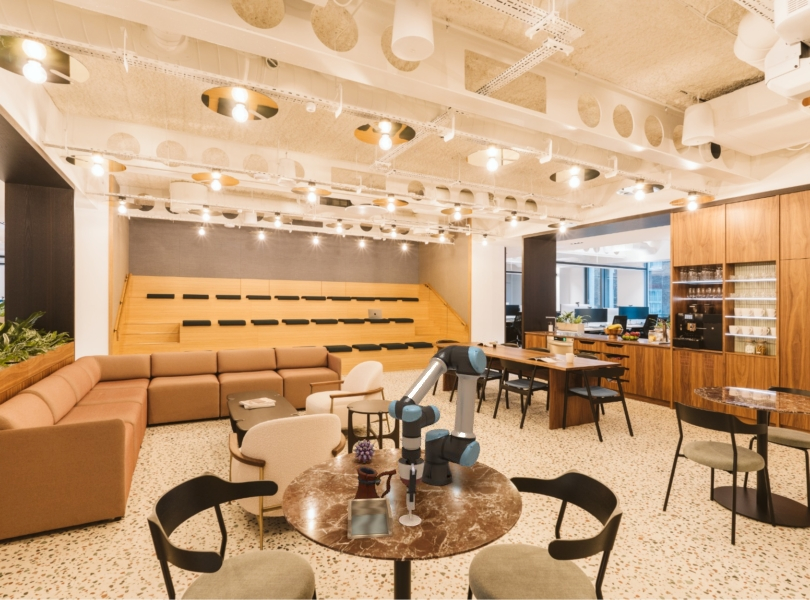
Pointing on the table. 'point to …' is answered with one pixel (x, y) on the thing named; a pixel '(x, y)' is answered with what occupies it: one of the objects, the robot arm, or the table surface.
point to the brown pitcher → (371, 482)
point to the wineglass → (404, 477)
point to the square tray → (369, 518)
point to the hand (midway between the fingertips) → (410, 507)
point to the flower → (364, 450)
